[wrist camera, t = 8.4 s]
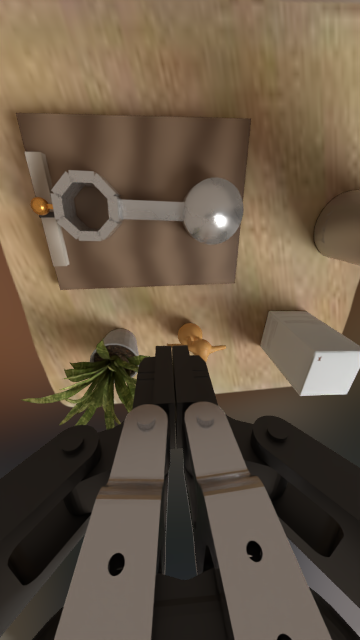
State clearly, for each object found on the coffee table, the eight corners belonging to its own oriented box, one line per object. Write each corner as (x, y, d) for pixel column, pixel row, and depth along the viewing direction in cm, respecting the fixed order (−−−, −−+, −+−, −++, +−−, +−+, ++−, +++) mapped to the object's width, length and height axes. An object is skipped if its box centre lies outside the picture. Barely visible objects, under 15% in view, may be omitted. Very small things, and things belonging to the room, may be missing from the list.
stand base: (244, 124, 27) (255, 114, 24) (230, 279, 35) (237, 285, 32) (25, 119, 25) (8, 107, 22) (65, 285, 33) (56, 292, 30)
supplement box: (258, 346, 41) (297, 397, 30) (268, 309, 38) (315, 350, 27) (296, 346, 42) (347, 396, 31) (308, 310, 39) (370, 350, 28)
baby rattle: (238, 182, 28) (251, 178, 24) (231, 242, 31) (241, 246, 27) (33, 171, 25) (13, 164, 21) (47, 237, 28) (31, 241, 24)
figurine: (163, 338, 39) (166, 387, 28) (165, 306, 36) (170, 346, 25) (210, 340, 40) (230, 388, 29) (215, 309, 37) (240, 348, 26)
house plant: (69, 373, 40) (19, 466, 25) (67, 300, 34) (1, 367, 20) (150, 379, 42) (147, 468, 28) (160, 312, 36) (164, 379, 22)
